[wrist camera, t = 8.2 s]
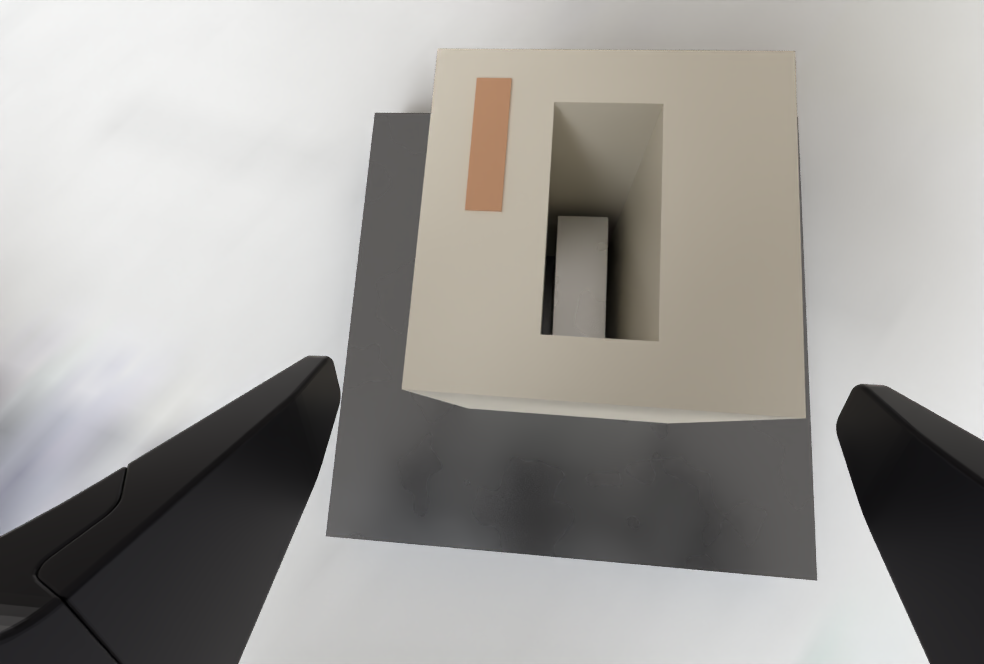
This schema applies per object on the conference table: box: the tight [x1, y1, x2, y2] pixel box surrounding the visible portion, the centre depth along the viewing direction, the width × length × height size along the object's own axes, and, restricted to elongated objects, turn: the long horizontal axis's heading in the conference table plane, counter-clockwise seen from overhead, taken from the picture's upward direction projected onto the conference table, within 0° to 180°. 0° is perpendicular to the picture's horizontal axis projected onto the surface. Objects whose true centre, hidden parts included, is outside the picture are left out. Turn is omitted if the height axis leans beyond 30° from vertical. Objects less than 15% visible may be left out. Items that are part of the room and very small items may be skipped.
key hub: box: [326, 113, 817, 580], centre depth 15 cm, size 14×14×6 cm
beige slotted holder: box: [402, 49, 806, 423], centre depth 12 cm, size 6×6×8 cm
